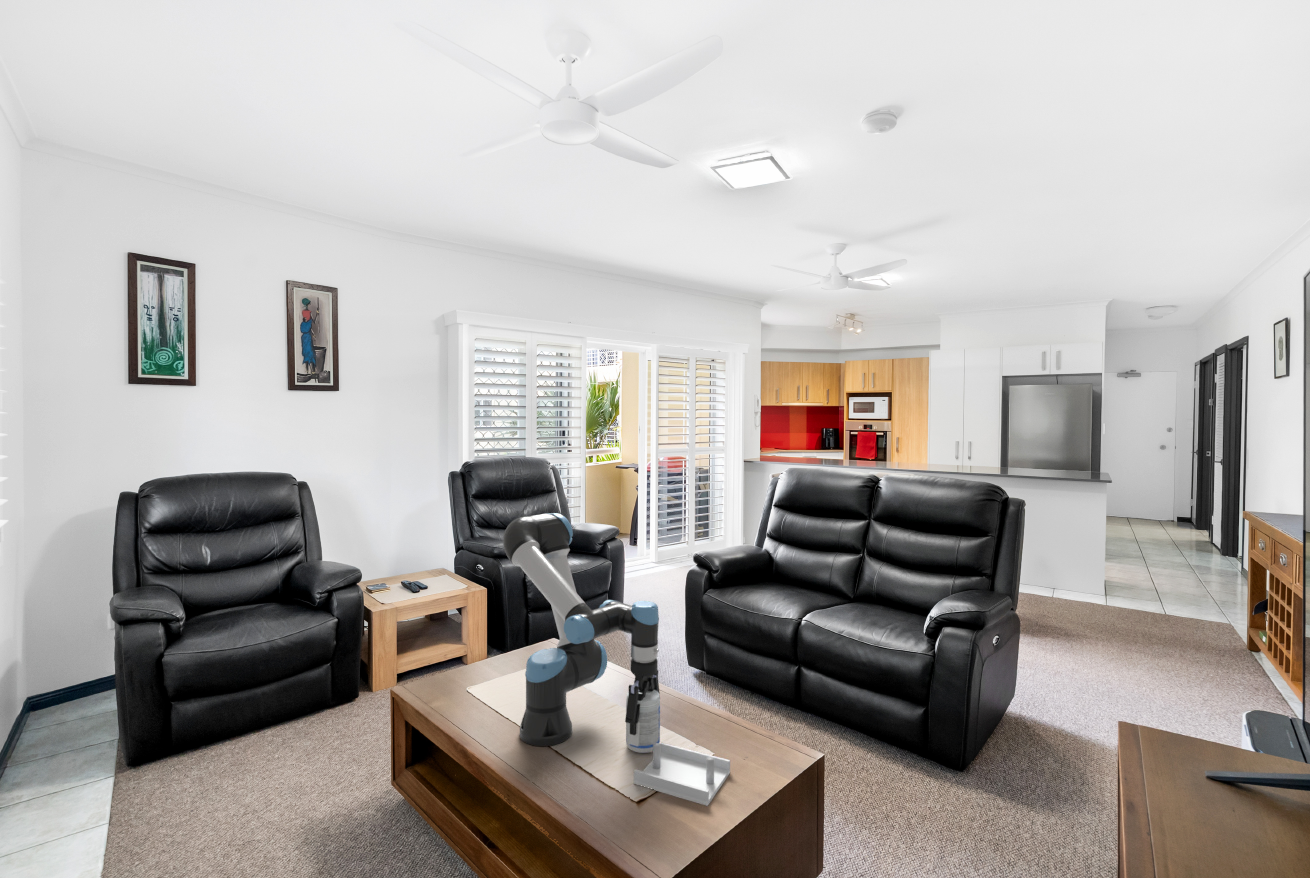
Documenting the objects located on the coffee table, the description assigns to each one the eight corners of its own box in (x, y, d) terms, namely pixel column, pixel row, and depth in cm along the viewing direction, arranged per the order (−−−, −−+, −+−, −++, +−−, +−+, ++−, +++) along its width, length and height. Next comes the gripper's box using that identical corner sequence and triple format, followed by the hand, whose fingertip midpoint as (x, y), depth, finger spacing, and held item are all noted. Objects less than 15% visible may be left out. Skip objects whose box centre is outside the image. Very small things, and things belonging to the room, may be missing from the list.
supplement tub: (666, 748, 180) (667, 697, 179) (637, 758, 175) (638, 705, 174) (647, 733, 188) (648, 684, 187) (619, 742, 183) (620, 691, 182)
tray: (633, 784, 163) (634, 757, 163) (661, 754, 178) (661, 729, 177) (707, 805, 154) (707, 777, 154) (730, 772, 169) (730, 746, 169)
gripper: (637, 675, 169) (636, 758, 170) (672, 647, 188) (671, 722, 190) (612, 669, 172) (611, 751, 173) (650, 643, 192) (648, 716, 193)
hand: (642, 736), depth 181 cm, fingers closed on supplement tub, 9 cm apart
